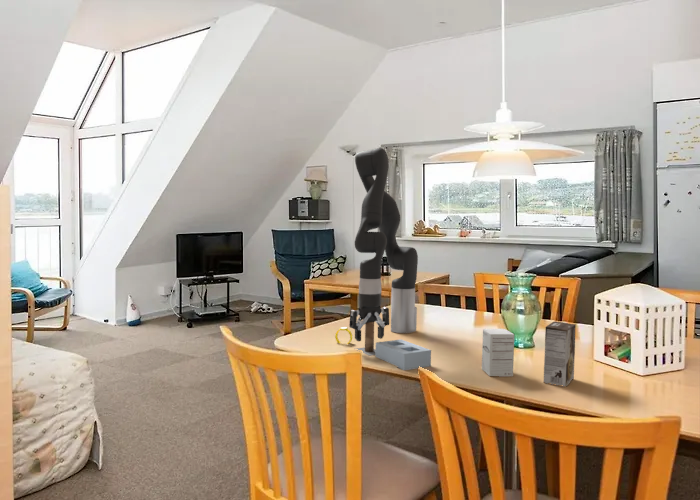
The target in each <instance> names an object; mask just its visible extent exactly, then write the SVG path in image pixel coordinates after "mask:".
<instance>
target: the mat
mask: <svg viewBox="0 0 700 500" xmlns="http://www.w3.org/2000/svg"><path fill="white" fill-rule="evenodd" d="M355 349H358V350H362V351H363V353H362V354H365V355H367V356H368V357H369V356H375V351H376V348H374V352H365V346H363V347H359V348H355ZM358 350H357V351H358Z"/></svg>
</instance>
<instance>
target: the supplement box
mask: <svg viewBox="0 0 700 500" xmlns="http://www.w3.org/2000/svg"><path fill="white" fill-rule="evenodd" d="M481 349H482V350H481V370H482V371H483V372H484V373H486V374H487V375H488V376H489V377H490V376H499V377H514V363H515V361H514V360H515V358H514V355H515V333H513V332H511V331H509V330H507V329H506V328H483V329H482V347H481Z"/></svg>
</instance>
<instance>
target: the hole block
mask: <svg viewBox="0 0 700 500" xmlns="http://www.w3.org/2000/svg"><path fill="white" fill-rule="evenodd" d="M375 349H376V351H375V355H374V356H375V358H378V359H380V360H382V361H384V362H387V363H388V364H391V365H394V366H396V368H397V369H399V370H403V371H408V370H415V369H419V368H418V367H419V366H420V367H422V368H429V367H431V366H432V365H431V364H432V350H431V349H430V348H425V347H423V346H421V345H418V344H415V343H412V342H409V341H408V340H404V339H394V340H386V341H385V340H384V341H378V342H375Z"/></svg>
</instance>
